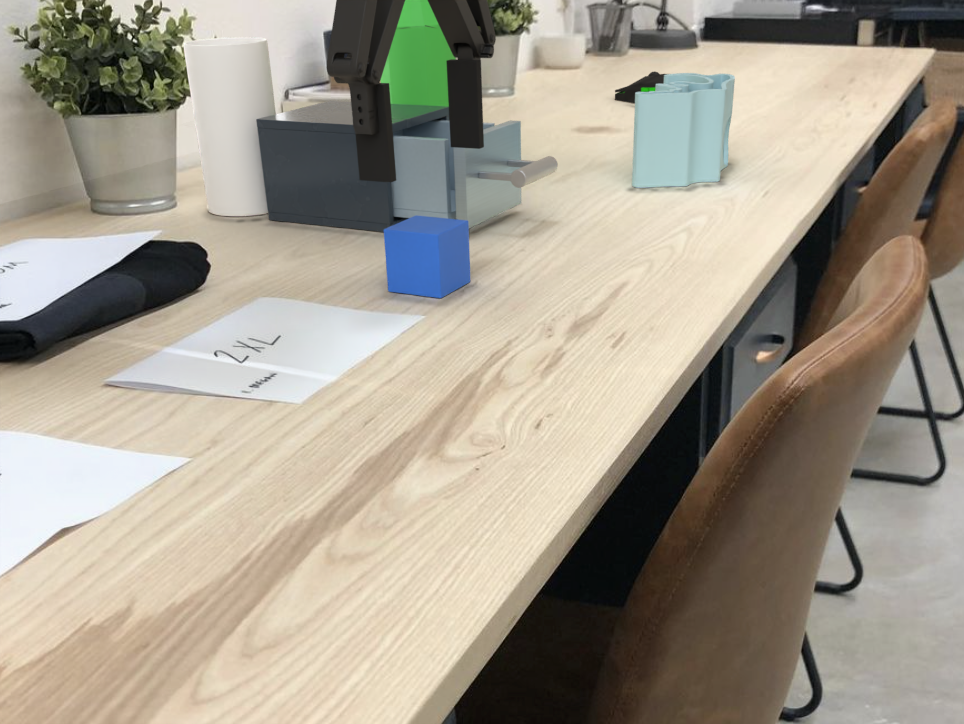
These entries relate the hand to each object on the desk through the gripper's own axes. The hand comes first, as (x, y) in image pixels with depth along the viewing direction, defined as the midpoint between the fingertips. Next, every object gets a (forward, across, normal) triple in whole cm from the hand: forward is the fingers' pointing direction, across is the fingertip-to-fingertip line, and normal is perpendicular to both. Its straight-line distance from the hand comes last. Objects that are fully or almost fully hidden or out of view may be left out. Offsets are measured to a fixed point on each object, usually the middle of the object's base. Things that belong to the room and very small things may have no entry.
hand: (425, 163), depth 86 cm
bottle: (+10, -43, -26) cm, 51 cm away
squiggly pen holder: (+10, -51, +4) cm, 52 cm away
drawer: (+9, -20, -9) cm, 24 cm away
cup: (+10, -18, -33) cm, 39 cm away
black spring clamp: (+10, -102, -17) cm, 104 cm away
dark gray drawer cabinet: (+10, -20, -20) cm, 30 cm away
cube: (+10, 0, 0) cm, 10 cm away
